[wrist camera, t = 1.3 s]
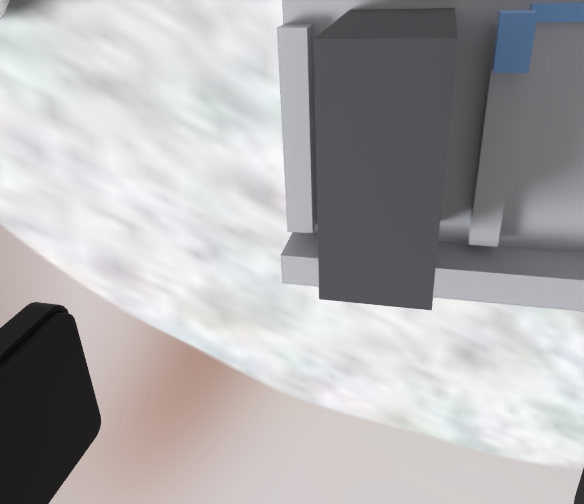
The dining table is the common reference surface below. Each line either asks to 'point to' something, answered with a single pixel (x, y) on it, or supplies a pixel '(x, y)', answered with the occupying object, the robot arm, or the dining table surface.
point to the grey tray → (471, 149)
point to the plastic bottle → (3, 6)
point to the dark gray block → (382, 152)
